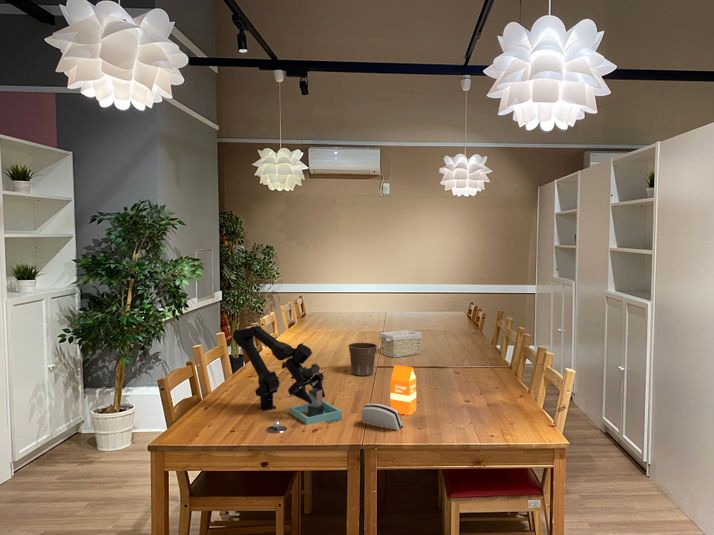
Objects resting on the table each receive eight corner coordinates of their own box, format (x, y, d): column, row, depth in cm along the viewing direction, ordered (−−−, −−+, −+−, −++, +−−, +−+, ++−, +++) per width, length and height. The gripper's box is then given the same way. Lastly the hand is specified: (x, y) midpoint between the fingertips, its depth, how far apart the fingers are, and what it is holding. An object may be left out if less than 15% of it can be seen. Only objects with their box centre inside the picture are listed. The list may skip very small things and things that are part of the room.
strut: (307, 416, 205) (307, 390, 205) (314, 413, 209) (314, 387, 209) (317, 418, 203) (316, 392, 202) (323, 415, 207) (323, 389, 206)
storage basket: (407, 350, 338) (407, 328, 337) (423, 354, 324) (423, 332, 323) (378, 354, 325) (378, 332, 324) (393, 359, 311) (393, 336, 310)
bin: (290, 416, 209) (289, 407, 208) (323, 409, 217) (323, 400, 217) (306, 428, 195) (306, 418, 195) (341, 420, 204) (341, 411, 203)
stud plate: (262, 431, 192) (262, 419, 191) (282, 427, 196) (281, 415, 196) (270, 438, 185) (270, 426, 185) (290, 434, 189) (290, 421, 189)
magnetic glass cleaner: (404, 426, 197) (400, 405, 193) (399, 434, 193) (394, 413, 190) (368, 418, 205) (363, 398, 202) (362, 426, 202) (358, 405, 198)
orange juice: (409, 416, 209) (409, 369, 208) (390, 412, 213) (390, 366, 212) (416, 410, 216) (416, 365, 215) (397, 407, 220) (397, 362, 219)
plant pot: (378, 370, 284) (378, 342, 283) (376, 378, 268) (376, 348, 267) (350, 369, 286) (349, 342, 285) (346, 377, 270) (346, 348, 269)
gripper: (293, 363, 199) (316, 394, 194) (320, 354, 215) (341, 382, 210) (278, 379, 203) (300, 410, 198) (305, 369, 219) (326, 398, 214)
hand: (318, 400), depth 205 cm, fingers open, 9 cm apart
